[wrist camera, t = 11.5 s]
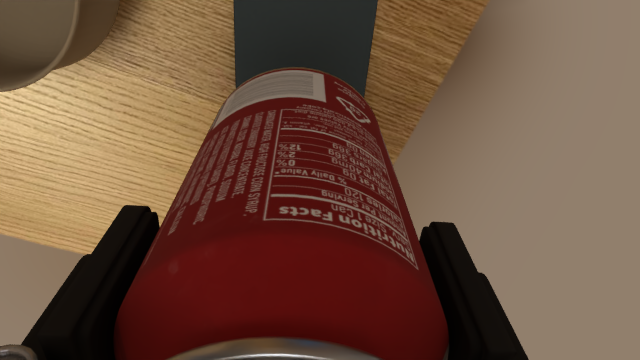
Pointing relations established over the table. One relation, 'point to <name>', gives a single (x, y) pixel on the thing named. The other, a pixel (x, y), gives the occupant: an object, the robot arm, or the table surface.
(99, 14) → the bowl
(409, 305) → the soda can
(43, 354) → the robot arm
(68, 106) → the table surface
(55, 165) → the table surface
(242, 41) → the coaster mat
